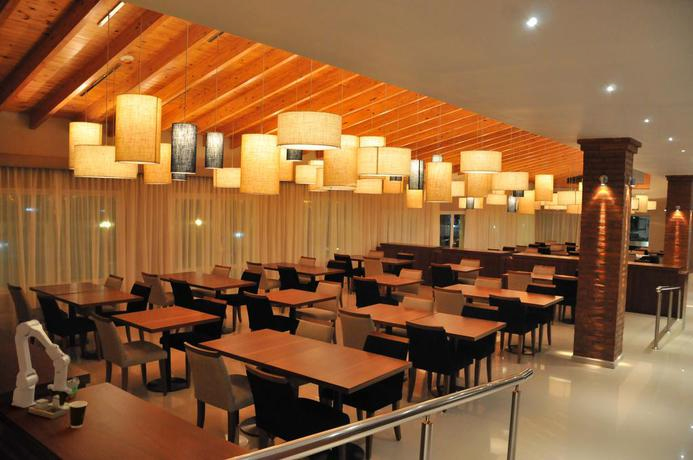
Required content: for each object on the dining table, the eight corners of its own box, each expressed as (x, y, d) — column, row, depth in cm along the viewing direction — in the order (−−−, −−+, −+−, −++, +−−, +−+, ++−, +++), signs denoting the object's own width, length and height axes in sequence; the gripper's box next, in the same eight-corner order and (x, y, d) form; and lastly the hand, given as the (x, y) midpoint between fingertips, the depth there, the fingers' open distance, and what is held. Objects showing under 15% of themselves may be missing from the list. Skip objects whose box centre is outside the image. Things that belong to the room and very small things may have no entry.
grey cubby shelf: (28, 413, 263) (28, 407, 263) (42, 408, 271) (42, 402, 271) (52, 419, 258) (52, 413, 258) (65, 414, 266) (66, 408, 266)
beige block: (34, 412, 265) (35, 400, 265) (41, 410, 269) (42, 398, 268) (40, 414, 263) (41, 402, 263) (47, 411, 267) (48, 400, 267)
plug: (51, 407, 271) (52, 396, 271) (58, 405, 275) (59, 394, 275) (57, 409, 270) (58, 398, 270) (64, 407, 274) (65, 395, 274)
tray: (41, 408, 270) (42, 406, 270) (57, 403, 279) (57, 400, 279) (58, 413, 266) (59, 410, 266) (74, 407, 275) (74, 404, 275)
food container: (70, 402, 282) (72, 384, 282) (59, 401, 282) (61, 383, 282) (82, 395, 294) (84, 377, 294) (71, 394, 294) (73, 376, 294)
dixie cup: (86, 428, 252) (88, 405, 252) (68, 430, 248) (70, 407, 248) (84, 421, 259) (86, 400, 259) (66, 424, 254) (68, 401, 254)
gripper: (43, 378, 271) (41, 404, 271) (64, 383, 266) (62, 409, 267) (55, 374, 278) (52, 400, 278) (76, 379, 273) (73, 405, 273)
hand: (58, 404), depth 273 cm, fingers closed on plug, 4 cm apart
